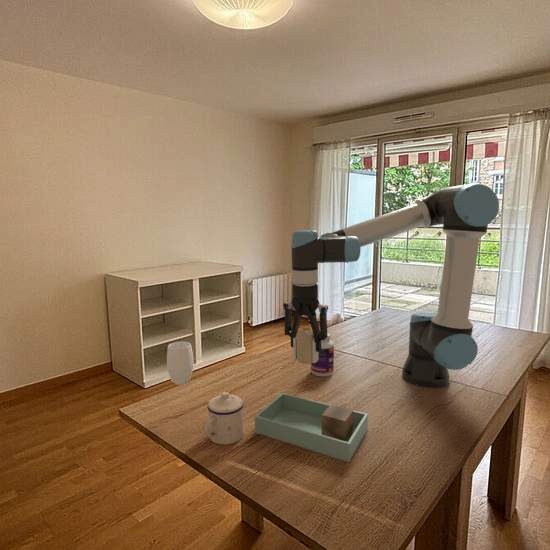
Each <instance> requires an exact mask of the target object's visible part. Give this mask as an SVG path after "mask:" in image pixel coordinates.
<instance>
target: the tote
mask: <svg viewBox="0 0 550 550" xmlns="http://www.w3.org/2000/svg"><path fill="white" fill-rule="evenodd" d="M330 405H331V404H330V403H329V404H328V403H325V402H322V401H321V402H320V401H317V400H314V399H313V400H312V399H309V398H305V397H300V396H296V395H293V394H290V393H289V394H288V393H286V392H282V393H280V394H279V395H278V396H277V397H276V398H274V399H273V400H272V401H271V402H270V403H269V404H267V405H266V406H265V407H264V408H263V409H262V410H261V411H259V413H257V414H256V415H255V416H254V433H255V434H258V435H262V436H264V437H268V438H270V439H275V440H277V441H281V442H284V443H287V444H290V445H293V446H297V447H299V448H303V449H307V450H309V451H312V452H315V453H318V454H322V455H325V456H328V457H331V458H335V459H337V460H338V459H339V460H341V461H344V462H348V463H349V462H351V459H353V456H354V455H355V452H357V449H358V447H359V445H360V443H361V442H362V441H363V438H364V436H365V435H366V433H367V431H368V428H369V427H368V425H369V423H368V422H369V414H368V413H365V412H362V411H359V410H358V411H356V410H354V409H352V410H353V431H352V436H351V438H350V440H349V441H348V442H346V441H342V440H339V439H335V438H332V437H328V436H325V435H322V414H323V413H324V412H325V411H326V410H327V408H328V407H329V406H330Z"/></svg>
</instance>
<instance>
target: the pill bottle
mask: <svg viewBox="0 0 550 550" xmlns="http://www.w3.org/2000/svg"><path fill="white" fill-rule="evenodd" d="M327 335H328V337H327V338H326V339H325V340H321V351H319V352H318V359H319V360H318V361H317V362H316V363H311V364H310V372H311V373H312V375H314V376H316V377H321V378H322V377H329V376H332V375H333V373H334V363H335V362H334V361H335V360H334V358H335V355H334V354H335V344H334V341H333V340H331V334H330V333H329V332H327Z"/></svg>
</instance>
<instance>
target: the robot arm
mask: <svg viewBox="0 0 550 550" xmlns="http://www.w3.org/2000/svg"><path fill="white" fill-rule="evenodd" d="M499 209H500V201H499V198H498V195H497V193H495V191H494V190H493V189H492V188H491V187H489V186H487V185H486V184H483V183H465V184H461V185H454V186H451V185H450V186H448V187H445V188H442V189H439V190H438V191H436V192H433V193H430V194H429V195H426V196H424V197H421V198H418V199H416V200H415V201H414V203H413V204H410V205H407V206H405V207H402V208H399V209H395V210H394V211H389V212H387V213H385V214H382V215H378V216H376V217H373V218H370V219H367V220H364V221H362V222H359V223H356V224H354V225H353V224H352V225H350V226H347V227H343V228H342V229H338V230H336V231H333V232H327V233H323V234H322V235H319V232H318V231H317V230H315V229H312V230H311V229H303V230H302V229H300V230H295V231H293V232H292V234H291V246H290V248H291V249H290V250H291V251H290V252H291V283H293V284H292V286H291V290H292V291H291V294H292V295H291V296H292V300H291V301H286V302H284V303H283V305H282V306H283V309H284V335H285V336H289V338H290V347H291V348H292V350H293V351H292V352H293V353H292V354H293V357H292V358H293V360H296V361H297V342H296V333H297V332H298V331H299V330H300V329H299V328H300V325H301V321H302V318H303V316H306V317H307V319H308V320H309V323H310V327H311V330H312V331H313V335H314V339H315V340H314V341H312V353H313V363H316V362H317V361H318V360H319V359H318V352H319V351H321V340H325V339H326V338H327V337H328V335H327V333H328V319H327V317H328V316H327V315H328V314H327V313H328V309H329V306H328V305H323V304H321V303H320V301H319V285H318V282H319V264H324V263H325V264H326V263H327V264H329V263H347V264H348V263H353V262H357V261H358V260H359V259H360V257H361V249H362V247H366V246H369V245H371V244H374V243H377V242H380V241H383V240H386V239H389V238H392V237H394V236H395V237H396V236H397V235H400V234H403V233H406V232H409V231H412V230H415V229H418V228H420V227H422V228H424V229H427V228H430V227H434V226H438V225H442V232H444V234H445V235H446V245H445V252H444V259H443V268H442V275H441V283H440V291H439V298H438V308H437V312H415V313H413V314H412V315H411V316H410V321H409V337H408V339H409V340H408V341H409V342H408V355H407V358H406V360H405V363H403V364H404V365H403V367H402V371H401V372H402V373H401V375H402V378H403V380H404V381H407V382H408V383H411V384H413V385H415V386H419V387H424V388H425V387H426V388H442V387H446V386H447V385H448V384H449V383H450V373H449V370H452V371H457V370H459V371H460V370H462V369H464V368H467V367H468V366H469V365H471V364H472V363H473V362H474V361H475V359H476V357H477V355H478V351H479V347H478V343H477V342H476V340H475V339H474V338H473V337H472V336H473V331H474V326H473V323H472V322H471V321H470V320H469V319H470V318H469V316H470V310H471V304H472V302H471V301H472V295H473V287H474V281H475V275H476V266H477V261H478V252H479V245H480V239H482V237H484V236H485V235H486V234H487V232H488V225H489V224H491V223H492V222H493V220H495V219H496V217H497V216H498V214H499ZM293 308H294V310H295V312H294V319H293ZM317 309H318V312H319V323H318V319H317V313H316V311H317Z"/></svg>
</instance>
